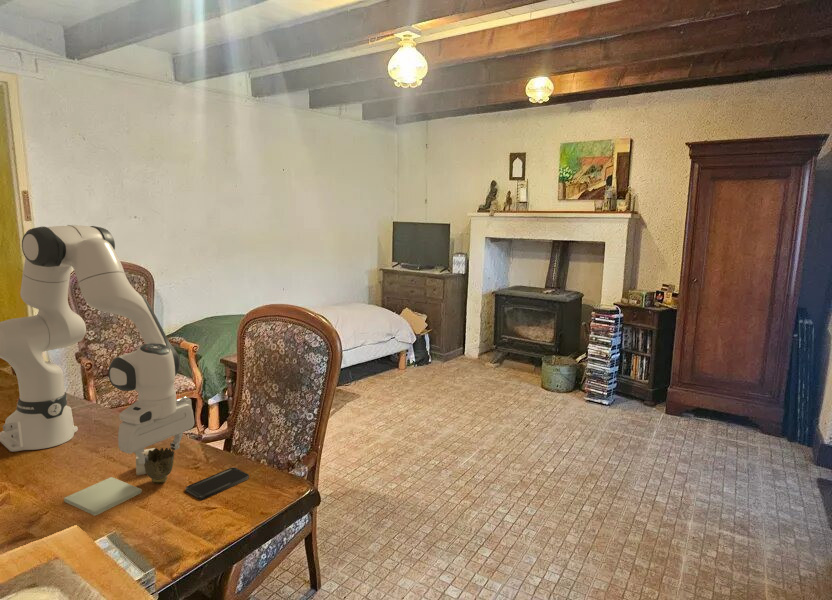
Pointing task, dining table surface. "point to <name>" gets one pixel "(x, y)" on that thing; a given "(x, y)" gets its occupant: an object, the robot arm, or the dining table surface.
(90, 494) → the sage board
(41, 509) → the dining table surface
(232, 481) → the phone
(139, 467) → the letter cube
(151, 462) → the cup
